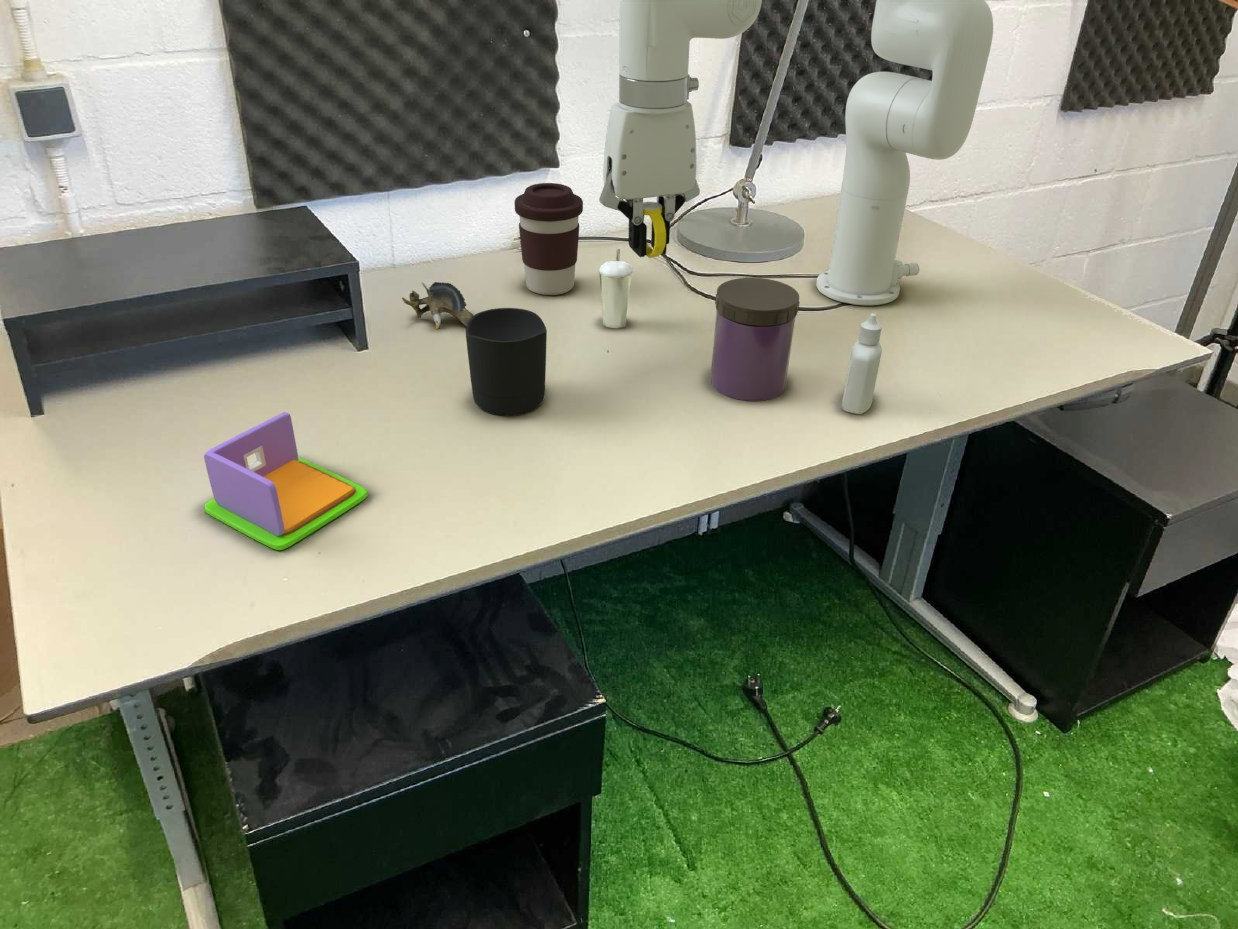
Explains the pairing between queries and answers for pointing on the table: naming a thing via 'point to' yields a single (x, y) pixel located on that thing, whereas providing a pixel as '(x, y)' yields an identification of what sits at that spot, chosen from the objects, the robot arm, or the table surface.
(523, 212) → the coffee cup
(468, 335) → the pen holder
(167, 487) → the table surface
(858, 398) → the eye dropper bottle
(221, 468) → the dollhouse room
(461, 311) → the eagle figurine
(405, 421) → the table surface
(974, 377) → the table surface
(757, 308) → the jar lid
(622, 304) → the milkshake
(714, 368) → the jar
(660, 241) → the watch
